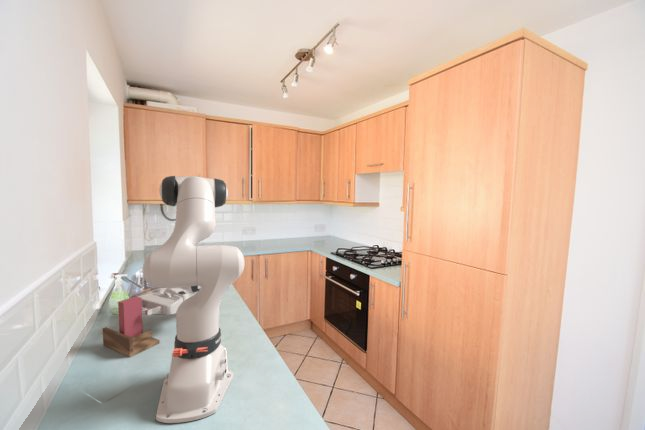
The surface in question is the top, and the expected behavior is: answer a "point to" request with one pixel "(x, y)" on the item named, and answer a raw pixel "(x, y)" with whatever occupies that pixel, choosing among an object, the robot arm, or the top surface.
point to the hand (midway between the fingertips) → (138, 310)
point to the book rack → (128, 342)
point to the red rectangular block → (130, 316)
